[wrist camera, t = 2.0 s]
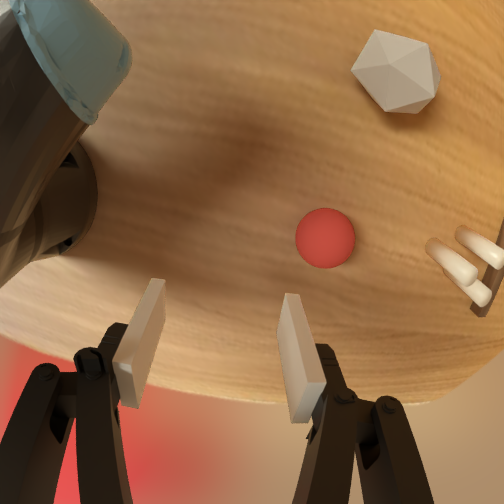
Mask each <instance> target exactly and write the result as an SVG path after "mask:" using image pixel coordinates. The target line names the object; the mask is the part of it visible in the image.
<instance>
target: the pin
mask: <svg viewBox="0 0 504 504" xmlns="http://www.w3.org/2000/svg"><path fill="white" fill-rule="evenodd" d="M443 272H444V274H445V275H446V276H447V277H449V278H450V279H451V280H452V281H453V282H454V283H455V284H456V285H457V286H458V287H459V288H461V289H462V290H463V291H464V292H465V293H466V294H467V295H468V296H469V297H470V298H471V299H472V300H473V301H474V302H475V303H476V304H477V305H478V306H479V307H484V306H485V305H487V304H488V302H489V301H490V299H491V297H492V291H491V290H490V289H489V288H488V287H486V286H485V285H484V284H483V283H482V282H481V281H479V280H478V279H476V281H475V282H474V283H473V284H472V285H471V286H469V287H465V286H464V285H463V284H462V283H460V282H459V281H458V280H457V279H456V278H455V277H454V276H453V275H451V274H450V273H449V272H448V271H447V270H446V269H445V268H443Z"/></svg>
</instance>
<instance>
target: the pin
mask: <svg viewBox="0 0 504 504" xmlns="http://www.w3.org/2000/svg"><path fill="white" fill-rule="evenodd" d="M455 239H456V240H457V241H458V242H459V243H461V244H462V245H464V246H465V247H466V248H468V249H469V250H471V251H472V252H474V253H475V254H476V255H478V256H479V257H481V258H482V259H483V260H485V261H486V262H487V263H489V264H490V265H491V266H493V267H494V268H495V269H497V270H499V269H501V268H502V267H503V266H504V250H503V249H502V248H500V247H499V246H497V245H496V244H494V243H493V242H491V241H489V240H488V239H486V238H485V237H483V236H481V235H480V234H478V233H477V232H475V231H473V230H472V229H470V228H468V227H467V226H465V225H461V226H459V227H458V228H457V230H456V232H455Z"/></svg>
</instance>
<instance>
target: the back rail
mask: <svg viewBox="0 0 504 504" xmlns="http://www.w3.org/2000/svg"><path fill="white" fill-rule="evenodd" d="M496 245H497V246H499V247H500V248H502V249H503V250H504V219H503V223H502V226H501V230H500V233H499V236H498V239H497V242H496ZM503 277H504V266H503V267H502V268H501V269H499V270H497V269H495V268H494V267H493V266H491V265H490V264H489V265H488V267H487V270H486V272H485V275H484V278H483V280H482V283H483V284H484V285H485V286H486V287H488V288H489V289H490V290H491V291H492V297H491V299H490V301H489V302H488V304H487V305H485V306H484V307H479V306H478V305H477V304H476V303H475V302H474V301H473V303H472V305H471V308H470V309H471V310H472V311H473V312H474V313H475V314H476V315H477V316H478V317H486V315H487V313H488V311H489V309H490V306H491V304H492V302H493V300H494V298H495V295H496V293H497V291H498V289H499V286H500V284H501V281H502V279H503Z"/></svg>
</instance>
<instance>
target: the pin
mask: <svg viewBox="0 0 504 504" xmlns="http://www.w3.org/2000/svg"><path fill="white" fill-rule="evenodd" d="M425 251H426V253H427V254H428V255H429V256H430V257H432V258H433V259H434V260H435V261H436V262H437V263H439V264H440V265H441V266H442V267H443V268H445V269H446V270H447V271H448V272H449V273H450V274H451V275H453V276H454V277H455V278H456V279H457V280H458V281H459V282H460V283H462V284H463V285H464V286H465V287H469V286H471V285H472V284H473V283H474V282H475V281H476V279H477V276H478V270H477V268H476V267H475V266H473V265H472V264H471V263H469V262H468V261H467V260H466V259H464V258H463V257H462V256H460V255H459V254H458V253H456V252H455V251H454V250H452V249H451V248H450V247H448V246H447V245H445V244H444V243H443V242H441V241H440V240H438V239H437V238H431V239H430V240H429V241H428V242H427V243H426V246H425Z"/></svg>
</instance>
